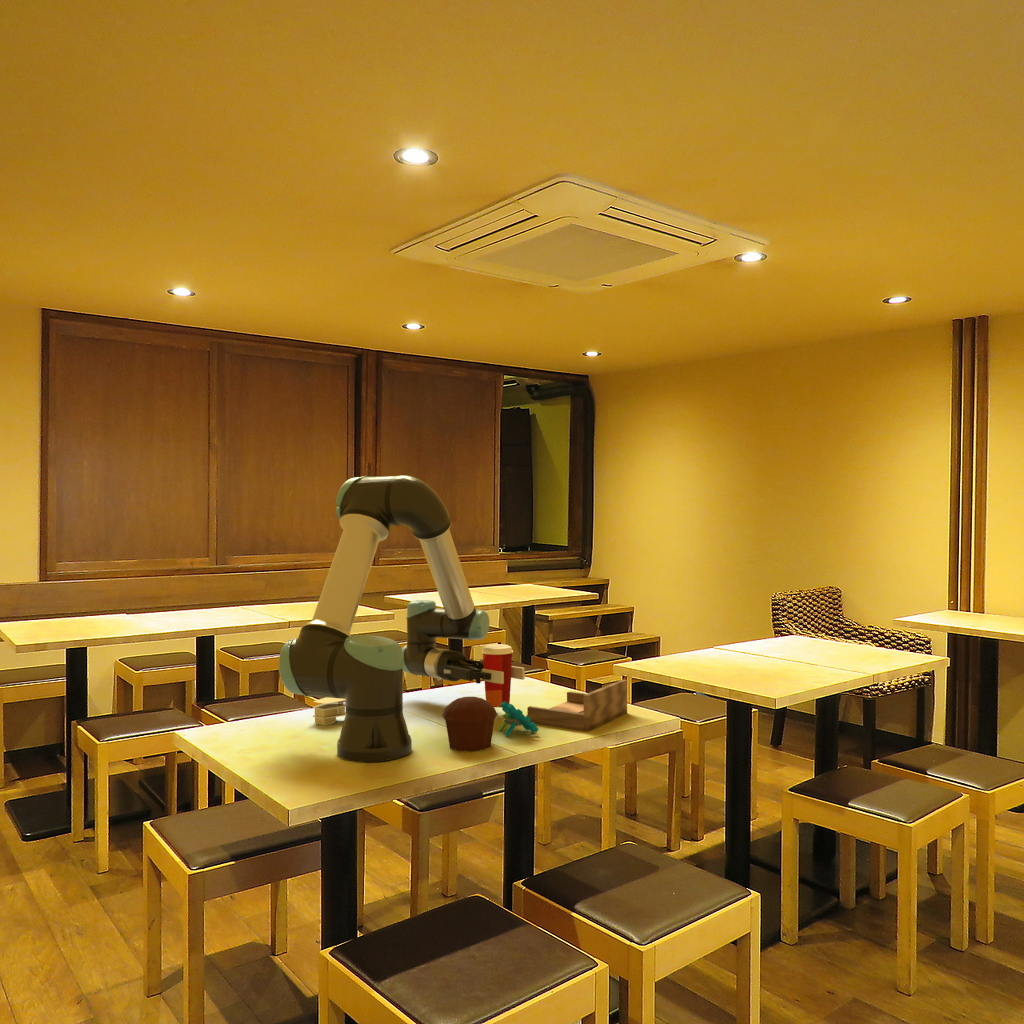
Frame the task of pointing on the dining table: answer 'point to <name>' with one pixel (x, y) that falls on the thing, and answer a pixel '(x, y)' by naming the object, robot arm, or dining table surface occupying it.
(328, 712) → the tan layered block
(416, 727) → the dining table surface
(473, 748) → the muffin
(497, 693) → the paper cup
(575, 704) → the bay
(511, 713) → the teal toy figurine
